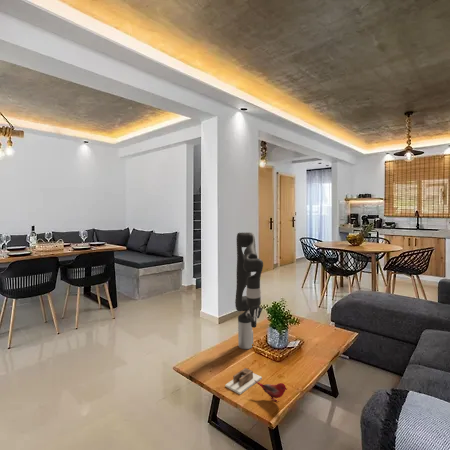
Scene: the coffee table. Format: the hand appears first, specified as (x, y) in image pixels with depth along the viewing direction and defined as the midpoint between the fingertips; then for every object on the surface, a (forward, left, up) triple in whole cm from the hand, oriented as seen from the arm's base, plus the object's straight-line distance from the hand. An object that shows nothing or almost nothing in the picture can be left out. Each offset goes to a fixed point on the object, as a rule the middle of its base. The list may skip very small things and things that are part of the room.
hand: (253, 327), depth 166 cm
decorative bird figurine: (+11, +18, -27) cm, 34 cm away
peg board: (+9, 0, -27) cm, 28 cm away
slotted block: (+9, 0, -26) cm, 28 cm away
